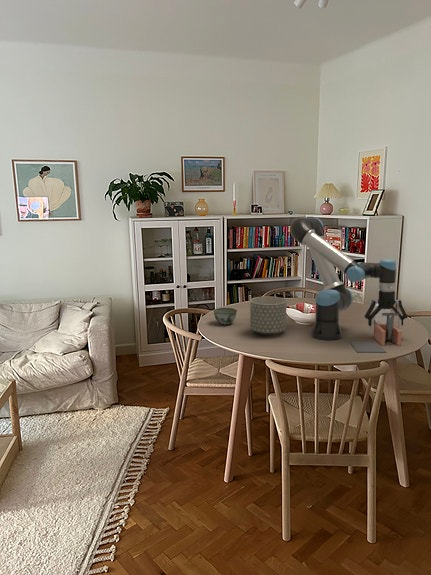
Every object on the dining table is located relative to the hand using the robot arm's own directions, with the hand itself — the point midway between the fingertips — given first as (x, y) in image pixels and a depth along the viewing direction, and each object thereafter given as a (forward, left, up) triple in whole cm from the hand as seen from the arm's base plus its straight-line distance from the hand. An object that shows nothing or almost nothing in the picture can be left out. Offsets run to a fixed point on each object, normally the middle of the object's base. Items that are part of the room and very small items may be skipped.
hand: (385, 331), depth 212 cm
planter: (-58, +8, -4) cm, 59 cm away
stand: (0, -7, -3) cm, 8 cm away
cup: (+7, +28, -4) cm, 29 cm away
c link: (0, -4, -3) cm, 5 cm away
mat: (-12, -15, -3) cm, 20 cm away
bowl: (-82, +26, -4) cm, 86 cm away
